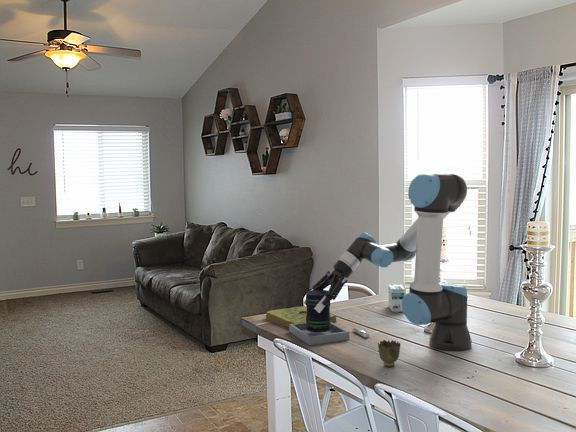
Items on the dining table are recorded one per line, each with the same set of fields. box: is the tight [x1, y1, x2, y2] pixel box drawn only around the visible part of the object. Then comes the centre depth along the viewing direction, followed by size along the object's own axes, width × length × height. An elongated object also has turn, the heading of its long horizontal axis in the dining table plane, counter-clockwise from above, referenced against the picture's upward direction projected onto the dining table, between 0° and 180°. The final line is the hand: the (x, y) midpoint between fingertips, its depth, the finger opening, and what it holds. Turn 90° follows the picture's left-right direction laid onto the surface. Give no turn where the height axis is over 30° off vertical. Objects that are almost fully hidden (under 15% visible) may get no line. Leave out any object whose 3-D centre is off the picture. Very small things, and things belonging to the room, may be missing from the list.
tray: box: [288, 322, 350, 346], centre depth 233 cm, size 20×17×3 cm
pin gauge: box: [352, 326, 370, 339], centre depth 234 cm, size 10×2×2 cm
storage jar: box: [305, 289, 331, 333], centre depth 233 cm, size 10×10×15 cm
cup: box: [377, 339, 401, 368], centre depth 197 cm, size 8×7×8 cm
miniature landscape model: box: [265, 305, 337, 328], centre depth 257 cm, size 22×24×5 cm
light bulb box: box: [388, 284, 407, 313], centre depth 274 cm, size 11×7×11 cm, turn 179°
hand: (311, 307), depth 231 cm, fingers closed on storage jar, 10 cm apart
